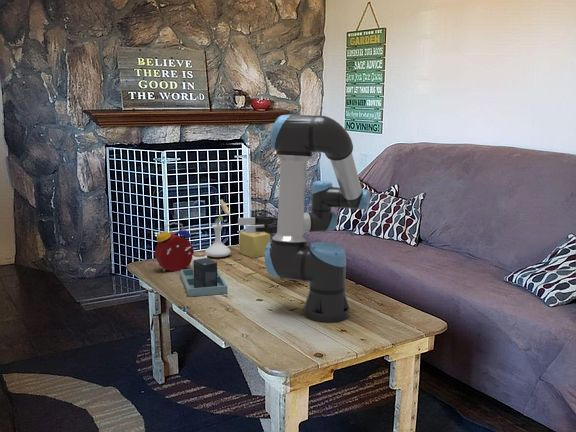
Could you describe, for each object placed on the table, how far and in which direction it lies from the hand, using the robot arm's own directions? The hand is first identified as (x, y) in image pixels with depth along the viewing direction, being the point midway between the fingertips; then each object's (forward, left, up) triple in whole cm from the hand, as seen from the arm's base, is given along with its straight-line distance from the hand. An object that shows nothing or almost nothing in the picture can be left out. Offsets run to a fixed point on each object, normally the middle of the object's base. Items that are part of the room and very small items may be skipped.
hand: (242, 225), depth 216 cm
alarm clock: (+24, +22, -23) cm, 40 cm away
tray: (+4, +14, -23) cm, 27 cm away
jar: (+11, +14, -23) cm, 29 cm away
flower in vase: (+43, +1, -23) cm, 49 cm away
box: (-2, +14, -23) cm, 27 cm away
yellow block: (+41, -15, -23) cm, 49 cm away
